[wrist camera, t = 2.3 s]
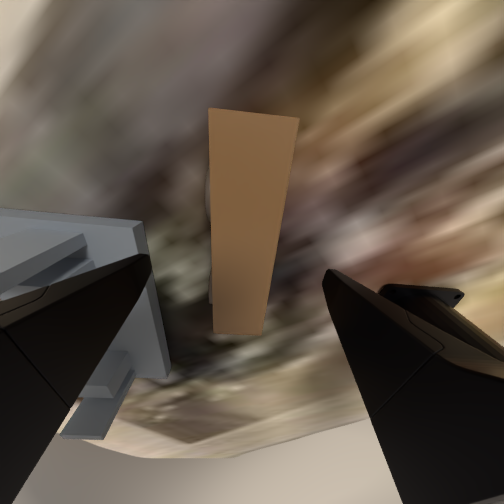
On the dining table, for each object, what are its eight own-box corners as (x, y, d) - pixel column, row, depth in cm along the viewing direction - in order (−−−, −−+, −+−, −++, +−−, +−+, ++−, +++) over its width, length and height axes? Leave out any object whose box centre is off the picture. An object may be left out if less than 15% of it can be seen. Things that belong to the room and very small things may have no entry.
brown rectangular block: (214, 118, 9) (201, 106, 7) (285, 127, 10) (299, 118, 7) (216, 302, 16) (209, 333, 13) (259, 305, 16) (261, 335, 13)
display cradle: (142, 221, 12) (57, 277, 7) (171, 366, 20) (143, 443, 15) (-7, 207, 11) (-228, 256, 6) (86, 363, 20) (26, 440, 14)
